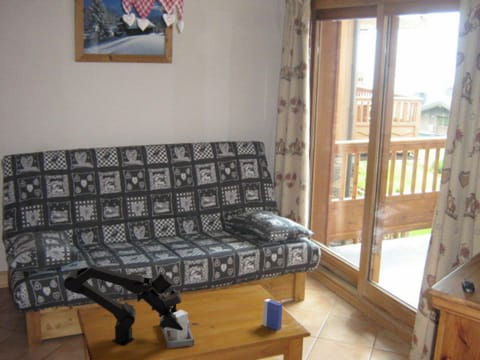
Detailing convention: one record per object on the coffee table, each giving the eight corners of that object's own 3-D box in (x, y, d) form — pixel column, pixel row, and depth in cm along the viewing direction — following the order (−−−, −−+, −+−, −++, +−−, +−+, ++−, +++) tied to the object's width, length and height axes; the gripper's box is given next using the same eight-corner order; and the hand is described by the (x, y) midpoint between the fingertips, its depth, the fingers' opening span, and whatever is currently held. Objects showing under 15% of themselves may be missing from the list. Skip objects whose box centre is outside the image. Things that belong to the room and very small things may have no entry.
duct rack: (194, 345, 235) (194, 334, 234) (167, 348, 232) (167, 336, 231) (184, 321, 254) (184, 311, 253) (160, 324, 251) (160, 313, 250)
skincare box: (180, 335, 242) (180, 309, 239) (187, 339, 239) (188, 312, 237) (169, 341, 237) (169, 314, 235) (177, 344, 235) (177, 317, 232)
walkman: (281, 328, 252) (282, 302, 249) (277, 330, 249) (279, 304, 247) (265, 322, 256) (267, 297, 253) (262, 325, 254) (263, 299, 251)
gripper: (168, 297, 224) (197, 323, 227) (170, 277, 242) (196, 302, 245) (147, 316, 225) (176, 341, 228) (151, 295, 243) (177, 319, 246)
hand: (182, 325), depth 237 cm, fingers closed on skincare box, 7 cm apart
